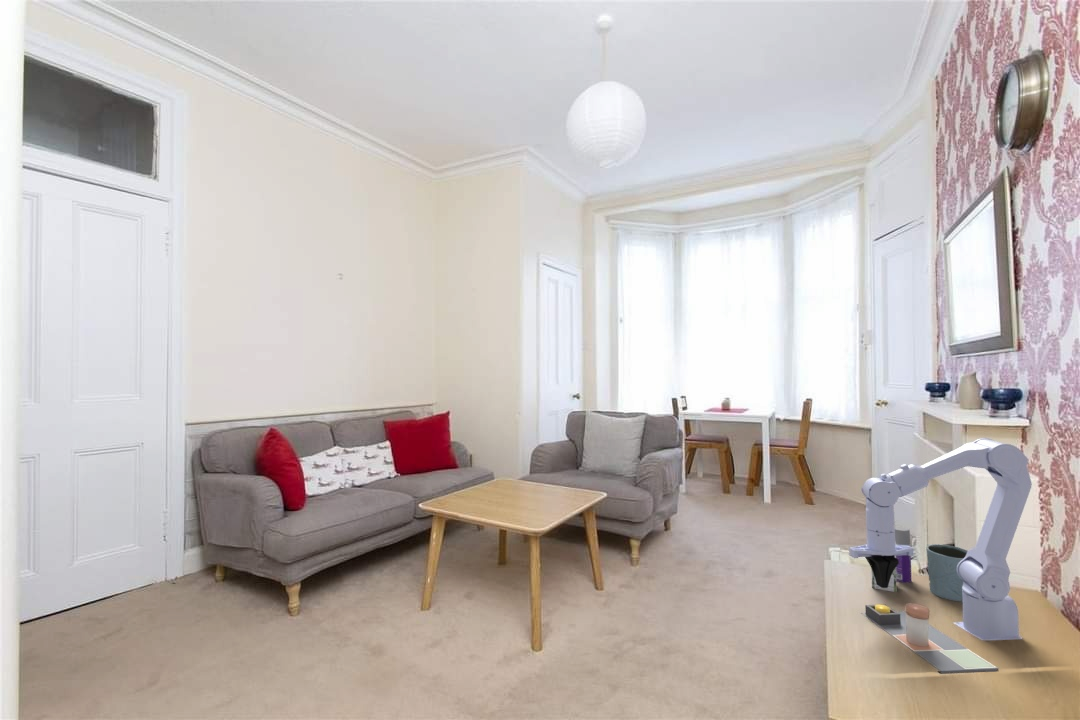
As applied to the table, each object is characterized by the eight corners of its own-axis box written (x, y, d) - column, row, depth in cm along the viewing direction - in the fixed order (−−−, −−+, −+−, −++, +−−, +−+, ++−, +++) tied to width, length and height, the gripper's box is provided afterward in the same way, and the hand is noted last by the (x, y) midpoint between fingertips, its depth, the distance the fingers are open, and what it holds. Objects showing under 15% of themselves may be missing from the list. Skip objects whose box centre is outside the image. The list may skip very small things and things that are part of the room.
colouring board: (908, 613, 127) (908, 610, 127) (998, 671, 103) (998, 667, 103) (861, 615, 127) (860, 612, 127) (940, 673, 103) (940, 670, 103)
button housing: (885, 614, 126) (885, 604, 126) (900, 624, 121) (900, 614, 121) (865, 614, 126) (865, 605, 126) (879, 625, 121) (879, 614, 121)
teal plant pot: (925, 585, 143) (923, 541, 143) (971, 592, 137) (970, 547, 138) (930, 600, 134) (929, 553, 134) (980, 608, 129) (979, 560, 129)
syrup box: (896, 586, 142) (894, 534, 142) (897, 594, 137) (895, 540, 137) (871, 582, 145) (870, 530, 145) (871, 590, 140) (870, 537, 140)
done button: (884, 615, 125) (884, 604, 125) (893, 621, 122) (893, 610, 122) (872, 615, 125) (872, 604, 125) (881, 621, 122) (880, 610, 122)
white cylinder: (919, 636, 115) (919, 603, 115) (934, 646, 111) (934, 612, 111) (900, 636, 115) (900, 603, 115) (915, 647, 111) (915, 612, 111)
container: (915, 585, 143) (913, 531, 143) (896, 584, 144) (894, 530, 144) (906, 578, 147) (905, 525, 147) (888, 577, 148) (886, 525, 148)
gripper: (897, 523, 128) (899, 578, 127) (840, 525, 127) (842, 580, 127) (919, 532, 121) (921, 590, 120) (859, 534, 120) (861, 593, 120)
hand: (882, 586), depth 123 cm, fingers closed
